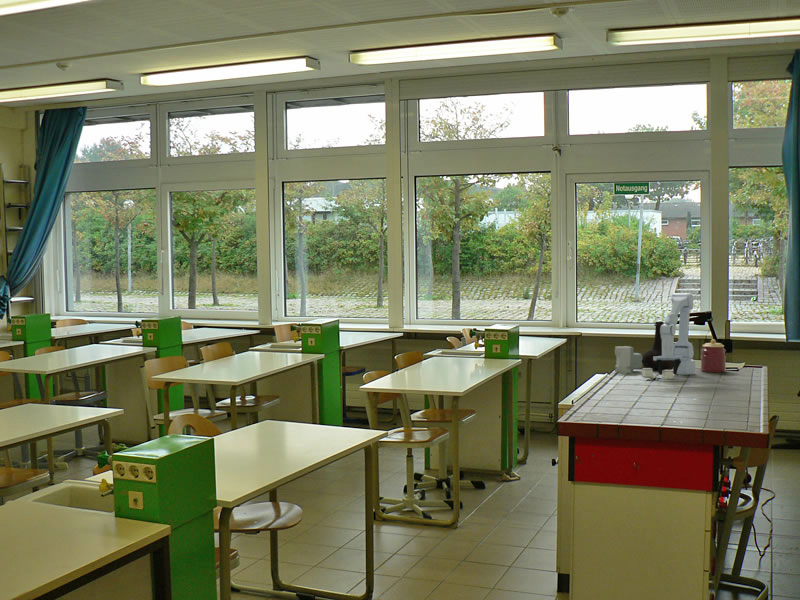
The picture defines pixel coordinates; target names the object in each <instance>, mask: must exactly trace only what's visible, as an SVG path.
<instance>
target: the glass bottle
mask: <svg viewBox="0 0 800 600" xmlns="http://www.w3.org/2000/svg"><path fill="white" fill-rule="evenodd" d="M664 322H665V321H655V323H654V326H655V331H654V340H653V344H652V348H651V349H649V350H647V351H646V352H644V353H643V355H642V359H644V361H642V366H643V368H651V369H653V371H655V372H659V371H658V368H657V366H656V364H655V361H654V360H653V356H662V339H661V334H660V327H661V325H663V324H664ZM661 361H662V362H663V365H662V370H672V371H673V361H672V360H661Z"/></svg>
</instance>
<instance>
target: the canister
mask: <svg viewBox="0 0 800 600" xmlns="http://www.w3.org/2000/svg"><path fill="white" fill-rule="evenodd" d="M724 347H725V345H724V344H722V342H721V343H720V342H717V340H716V339H713V338H712V339H711V340H710V342H706V343H704V344H702V348H701V349H700V351H701V354H700V371H701V372H706V373H724V372H726V369H727V366H726V358H727V355H726V351H727V349H725V348H724Z"/></svg>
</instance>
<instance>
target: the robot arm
mask: <svg viewBox="0 0 800 600" xmlns="http://www.w3.org/2000/svg"><path fill="white" fill-rule="evenodd" d="M671 305H672V306H671V310H670V312H669V313H667V315H666V317H665V320H664V321H663V322H664V324H663V325H661V327H660V334H661V339H662V356H653V360H654V361H655V364H656V366H657V368H658V371H657V372H658V375H659V376H660V375H661V376H662V365H663V362H662V361H661V360H672V361H673V369H672V371H673V375H696V363H695V360H694V359H693V357H694V355H695V353H694V352H695V350H694V346H693V344H692V343H691V342H690V341H689V326H690V314H691V313H690V311H691V310H693V308H694V295H693V294H692V293H690V292H689V293H683V292H682V293H680V292H679V293H675V292H674V293H672V295H671ZM678 321H679V322H678ZM678 323H679V324H678ZM677 324H678V338H677V341H676V342H675V341H674V339H675V338H674V336H675V335H676V329H677ZM674 342H675V343H674Z"/></svg>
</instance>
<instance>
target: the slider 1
mask: <svg viewBox="0 0 800 600" xmlns="http://www.w3.org/2000/svg"><path fill="white" fill-rule="evenodd" d="M641 375H642V377H646V378H649V377H650V378H652V377H653V375H654V373H653V369H651V368H644V367H642V368H641Z"/></svg>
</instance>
